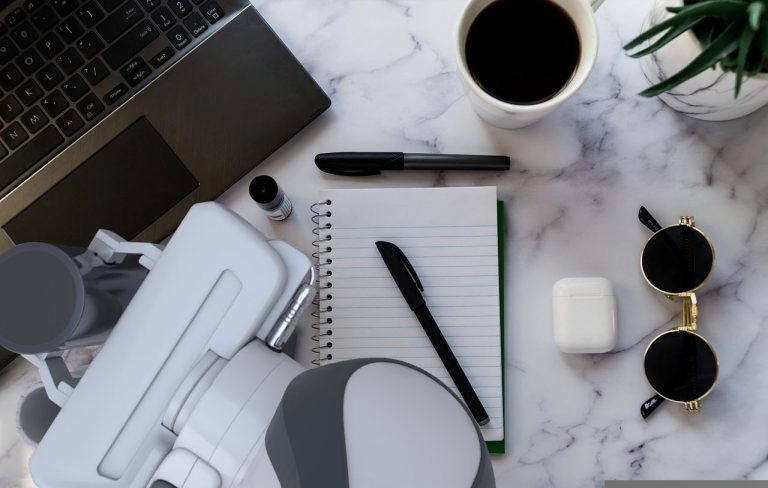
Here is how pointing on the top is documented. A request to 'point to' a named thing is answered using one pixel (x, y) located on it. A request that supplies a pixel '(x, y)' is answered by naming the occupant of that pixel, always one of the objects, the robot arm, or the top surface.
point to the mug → (38, 411)
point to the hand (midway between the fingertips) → (64, 290)
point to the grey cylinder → (62, 296)
